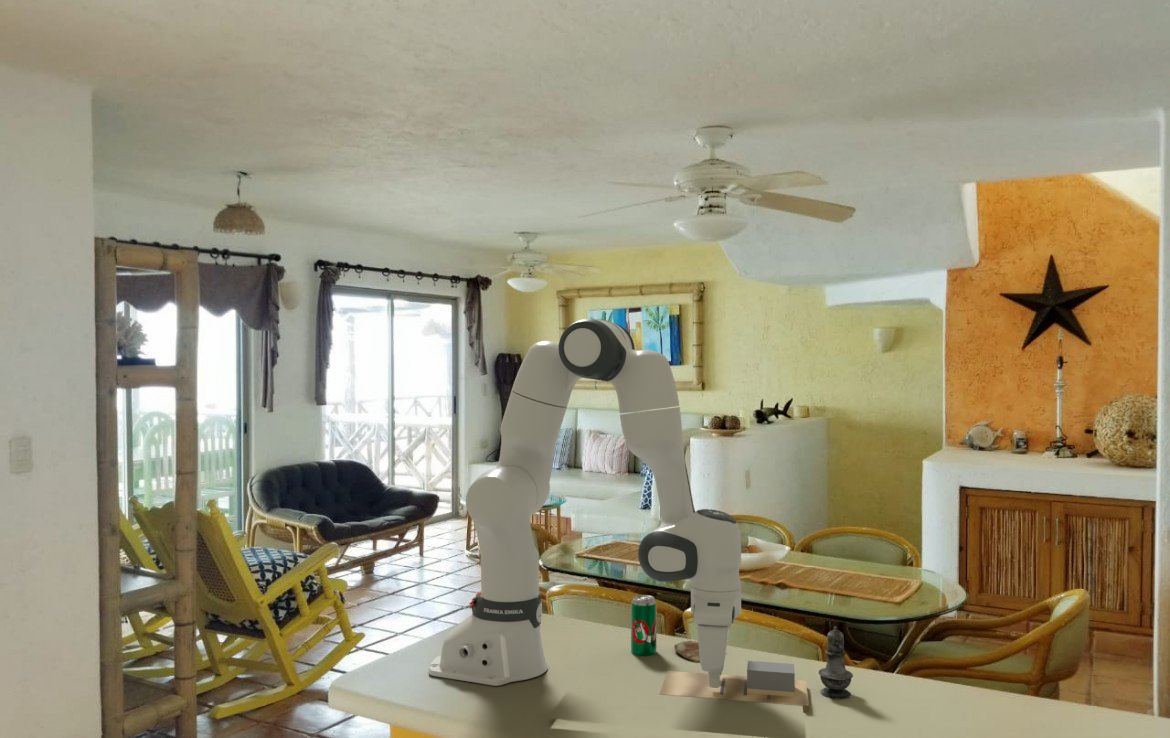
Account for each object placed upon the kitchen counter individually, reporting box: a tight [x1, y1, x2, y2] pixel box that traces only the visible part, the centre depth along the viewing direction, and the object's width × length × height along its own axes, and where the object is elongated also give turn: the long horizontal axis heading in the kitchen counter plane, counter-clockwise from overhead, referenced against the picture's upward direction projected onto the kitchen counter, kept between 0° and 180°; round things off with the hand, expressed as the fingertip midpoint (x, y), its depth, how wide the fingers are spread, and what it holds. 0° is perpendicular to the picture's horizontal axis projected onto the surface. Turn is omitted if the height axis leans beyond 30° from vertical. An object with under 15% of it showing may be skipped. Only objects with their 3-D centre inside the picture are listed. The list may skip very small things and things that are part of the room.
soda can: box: [630, 594, 657, 657], centre depth 172 cm, size 5×5×12 cm
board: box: [659, 670, 810, 714], centre depth 152 cm, size 25×12×1 cm, turn 78°
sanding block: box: [746, 660, 796, 697], centre depth 151 cm, size 8×5×4 cm, turn 78°
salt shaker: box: [818, 625, 854, 700], centre depth 152 cm, size 6×6×12 cm
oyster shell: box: [673, 640, 701, 664], centre depth 172 cm, size 13×10×3 cm
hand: (715, 680), depth 153 cm, fingers open, 4 cm apart
